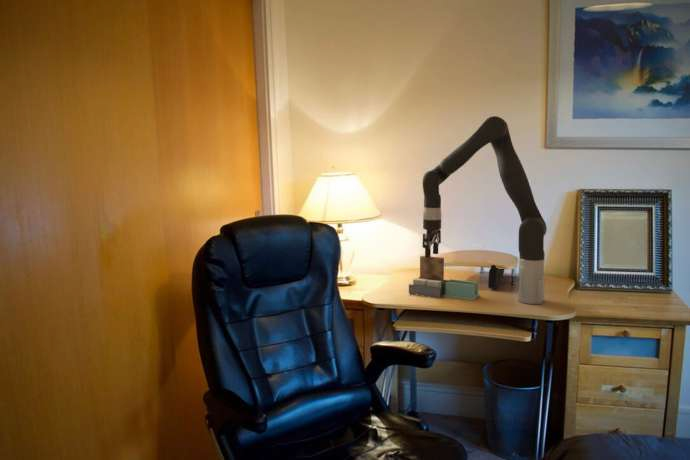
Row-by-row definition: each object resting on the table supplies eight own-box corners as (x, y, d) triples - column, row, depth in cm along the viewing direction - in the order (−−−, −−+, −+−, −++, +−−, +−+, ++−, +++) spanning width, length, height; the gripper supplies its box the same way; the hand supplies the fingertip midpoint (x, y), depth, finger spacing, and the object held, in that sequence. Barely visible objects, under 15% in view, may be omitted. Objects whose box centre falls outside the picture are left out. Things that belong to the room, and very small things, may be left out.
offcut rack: (449, 291, 221) (449, 280, 220) (440, 298, 211) (440, 286, 211) (419, 287, 228) (419, 276, 227) (408, 293, 219) (408, 282, 218)
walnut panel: (443, 289, 220) (443, 257, 218) (441, 291, 218) (442, 258, 216) (421, 287, 225) (421, 255, 223) (420, 288, 224) (420, 256, 222)
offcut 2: (441, 292, 216) (441, 281, 215) (438, 294, 213) (438, 282, 213) (429, 291, 219) (429, 279, 218) (426, 292, 216) (426, 281, 215)
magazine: (495, 271, 217) (504, 239, 242) (487, 270, 218) (497, 238, 243) (496, 306, 224) (504, 271, 249) (488, 306, 225) (497, 271, 250)
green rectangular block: (479, 295, 213) (479, 281, 212) (473, 300, 207) (473, 286, 206) (451, 292, 220) (451, 278, 219) (444, 296, 213) (444, 282, 212)
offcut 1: (428, 290, 219) (428, 279, 218) (425, 292, 216) (425, 280, 216) (416, 289, 222) (416, 278, 221) (413, 291, 219) (413, 279, 219)
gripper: (434, 220, 209) (433, 259, 212) (446, 216, 221) (446, 253, 224) (417, 219, 213) (416, 257, 216) (430, 215, 225) (430, 252, 228)
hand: (431, 255), depth 220 cm, fingers open, 8 cm apart
